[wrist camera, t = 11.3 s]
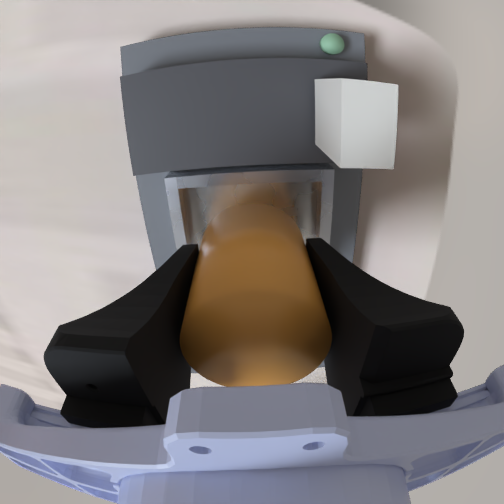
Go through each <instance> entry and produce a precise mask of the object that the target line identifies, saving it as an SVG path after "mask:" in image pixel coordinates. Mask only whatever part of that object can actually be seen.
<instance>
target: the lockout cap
mask: <svg viewBox="0 0 504 504" xmlns="http://www.w3.org/2000/svg"><path fill="white" fill-rule="evenodd" d="M331 342H332V332H331V327H330V324H329V320H328V317H327V313H326V310H325V307H324V303H323V300H322V297H321V293H320V290H319V287H318V284H317V280H316V277H315V274H314V271H313V268H312V264H311V261H310V258H309V255H308V252H307V249H306V246H305V243H304V240H303V237H302V234H301V231H300V229H299V227H298V226H297V224H296V222H295V221H294V220H293V219H292V218H291V217H290V216H289V215H288V214H287V213H285V212H284V211H282V210H280V209H278V208H276V207H274V206H271V205H268V204H263V203H243V204H238V205H235V206H232V207H230V208H227V209H225V210H224V211H222V212H221V213H219V214H218V215H217V216H216V217H215V218H214V219H213V220H212V221H211V222H210V223H209V225H208V226H207V228H206V230H205V232H204V235H203V238H202V242H201V246H200V250H199V254H198V258H197V262H196V266H195V270H194V274H193V279H192V283H191V287H190V292H189V296H188V300H187V305H186V309H185V314H184V318H183V323H182V328H181V332H180V348H181V351H182V354H183V356H184V358H185V360H186V361H187V362H188V364H189V365H190V366H191V367H192V368H193V369H194V370H195V371H196V372H197V373H199V374H200V375H202V376H203V377H205V378H206V379H208V380H210V381H212V382H215V383H217V384H220V385H223V386H226V387H236V386H264V385H280V384H291V383H293V382H296V381H298V380H300V379H302V378H304V377H305V376H307V375H308V374H310V373H311V372H313V371H314V370H315V369H316V368H317V367H318V366H319V365H320V364H321V363H322V362H323V360H324V359H325V358H326V356H327V354H328V352H329V350H330V347H331Z"/></svg>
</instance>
